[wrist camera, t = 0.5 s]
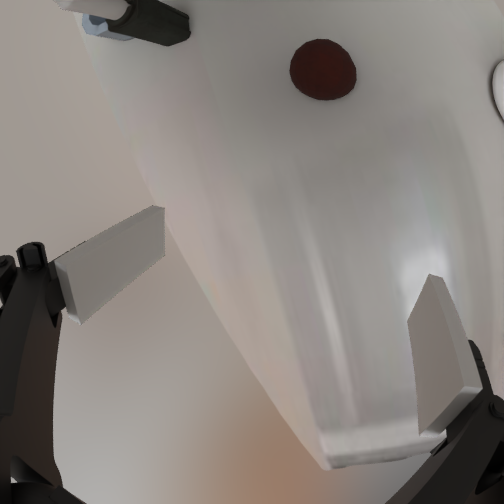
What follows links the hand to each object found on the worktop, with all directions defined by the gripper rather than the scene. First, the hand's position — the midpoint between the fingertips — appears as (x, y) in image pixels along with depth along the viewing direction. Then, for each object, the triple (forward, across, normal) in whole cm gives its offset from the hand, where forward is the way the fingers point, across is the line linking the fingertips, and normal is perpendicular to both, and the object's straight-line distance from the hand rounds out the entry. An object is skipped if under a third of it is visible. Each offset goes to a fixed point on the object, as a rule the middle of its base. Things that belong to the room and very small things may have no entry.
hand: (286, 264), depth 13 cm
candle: (+28, -26, +19) cm, 43 cm away
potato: (+28, -2, +13) cm, 31 cm away
